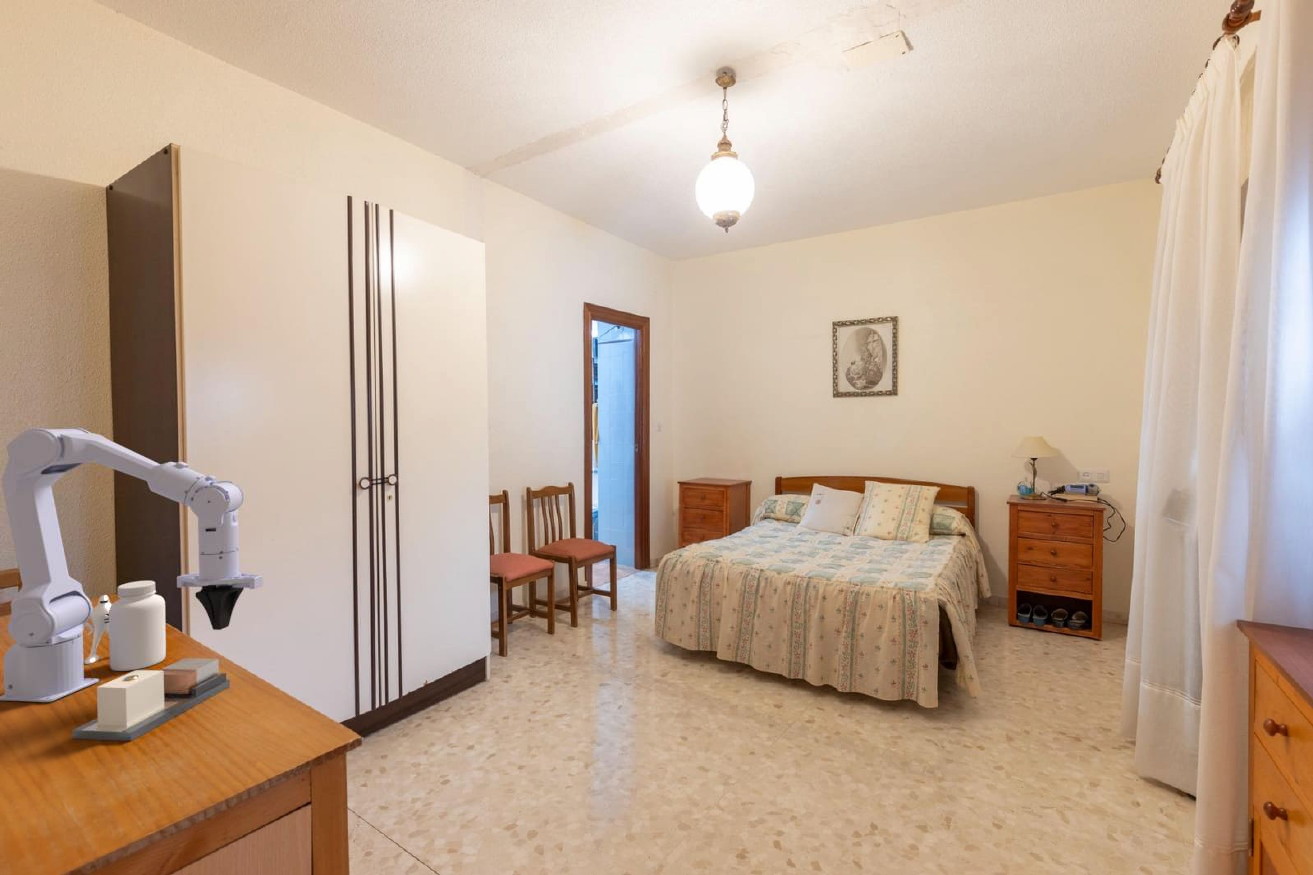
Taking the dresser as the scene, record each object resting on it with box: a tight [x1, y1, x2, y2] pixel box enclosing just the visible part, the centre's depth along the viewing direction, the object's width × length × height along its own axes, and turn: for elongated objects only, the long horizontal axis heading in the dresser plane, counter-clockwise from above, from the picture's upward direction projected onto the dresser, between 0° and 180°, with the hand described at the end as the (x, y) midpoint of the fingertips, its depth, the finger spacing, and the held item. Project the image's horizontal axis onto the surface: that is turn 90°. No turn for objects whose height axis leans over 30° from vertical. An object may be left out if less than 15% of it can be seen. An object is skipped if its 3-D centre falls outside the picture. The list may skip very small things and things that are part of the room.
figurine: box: [83, 594, 113, 665], centre depth 114 cm, size 7×4×12 cm, turn 131°
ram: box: [160, 657, 220, 694], centre depth 98 cm, size 6×6×4 cm
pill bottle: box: [108, 580, 167, 672], centre depth 112 cm, size 8×8×15 cm
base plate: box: [72, 672, 231, 742], centre depth 93 cm, size 9×18×2 cm, turn 175°
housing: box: [96, 669, 164, 726], centre depth 89 cm, size 4×6×6 cm
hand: (220, 627), depth 105 cm, fingers closed
